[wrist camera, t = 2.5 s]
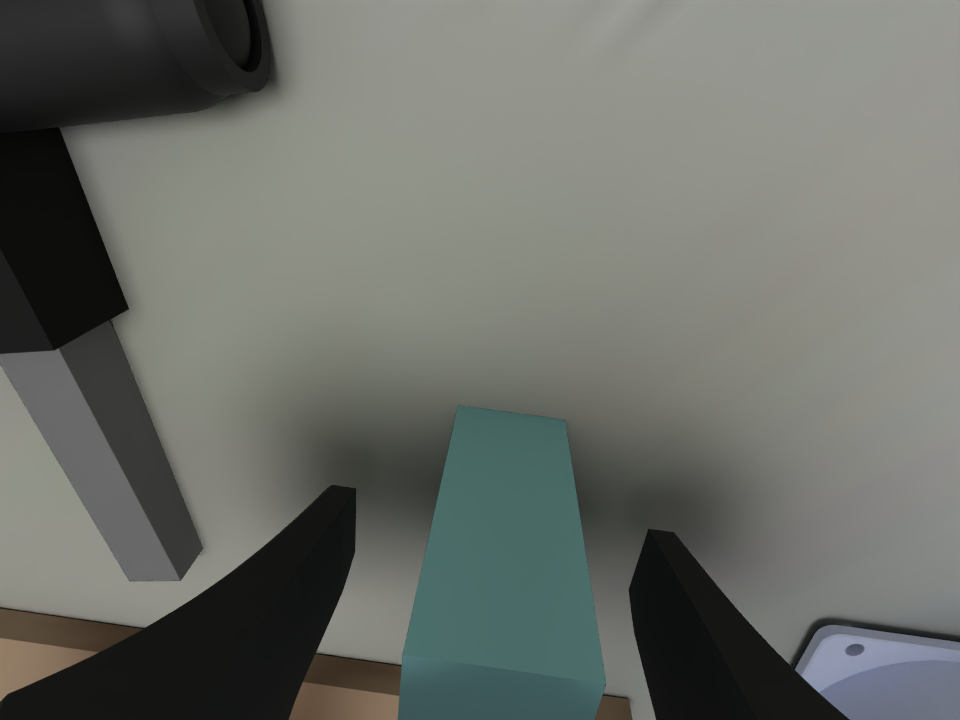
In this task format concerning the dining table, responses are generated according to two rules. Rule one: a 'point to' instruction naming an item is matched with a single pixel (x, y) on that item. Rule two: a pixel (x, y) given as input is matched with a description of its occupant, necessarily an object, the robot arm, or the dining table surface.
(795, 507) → the dining table surface
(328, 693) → the board
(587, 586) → the block
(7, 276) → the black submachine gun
